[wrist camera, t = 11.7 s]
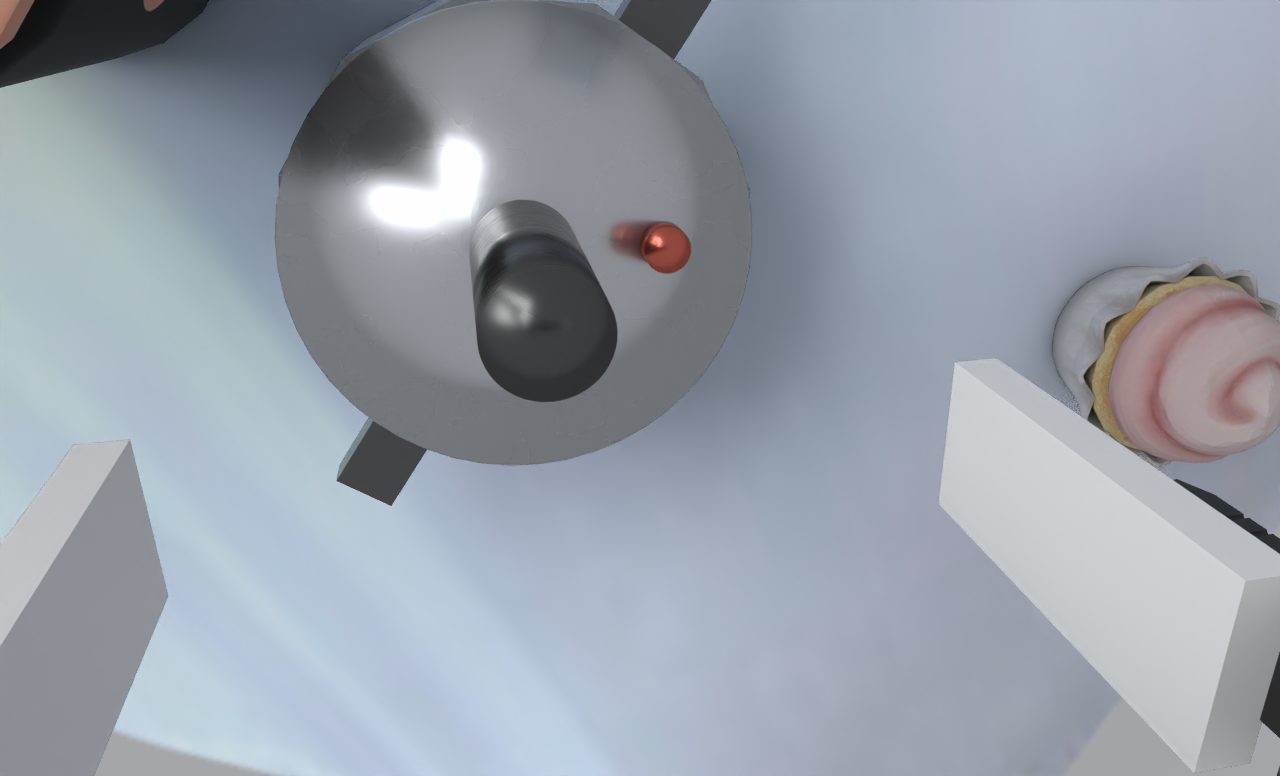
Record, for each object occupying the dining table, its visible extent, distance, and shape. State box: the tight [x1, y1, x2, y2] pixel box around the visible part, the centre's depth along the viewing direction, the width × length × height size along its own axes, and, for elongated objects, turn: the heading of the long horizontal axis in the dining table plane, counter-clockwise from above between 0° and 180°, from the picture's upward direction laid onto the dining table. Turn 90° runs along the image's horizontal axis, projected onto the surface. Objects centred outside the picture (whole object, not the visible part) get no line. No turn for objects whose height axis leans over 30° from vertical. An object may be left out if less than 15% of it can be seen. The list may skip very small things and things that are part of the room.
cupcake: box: [1052, 258, 1280, 467], centre depth 41 cm, size 9×9×10 cm
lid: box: [275, 0, 752, 465], centre depth 27 cm, size 14×14×10 cm
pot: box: [278, 0, 750, 506], centre depth 34 cm, size 20×14×9 cm
